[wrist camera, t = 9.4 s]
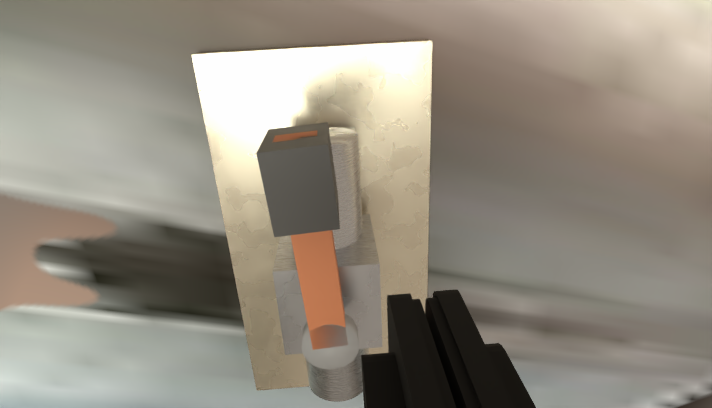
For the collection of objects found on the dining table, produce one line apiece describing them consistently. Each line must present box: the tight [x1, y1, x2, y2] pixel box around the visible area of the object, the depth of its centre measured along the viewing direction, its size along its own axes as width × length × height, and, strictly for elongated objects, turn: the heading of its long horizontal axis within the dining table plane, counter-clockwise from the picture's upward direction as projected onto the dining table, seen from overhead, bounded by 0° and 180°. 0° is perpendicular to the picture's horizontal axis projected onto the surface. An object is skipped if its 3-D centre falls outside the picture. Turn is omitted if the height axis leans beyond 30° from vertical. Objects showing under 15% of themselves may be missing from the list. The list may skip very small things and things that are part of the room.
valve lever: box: [256, 122, 359, 369], centre depth 23 cm, size 14×3×4 cm, turn 6°
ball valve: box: [192, 39, 432, 401], centre depth 31 cm, size 30×16×12 cm, turn 3°
